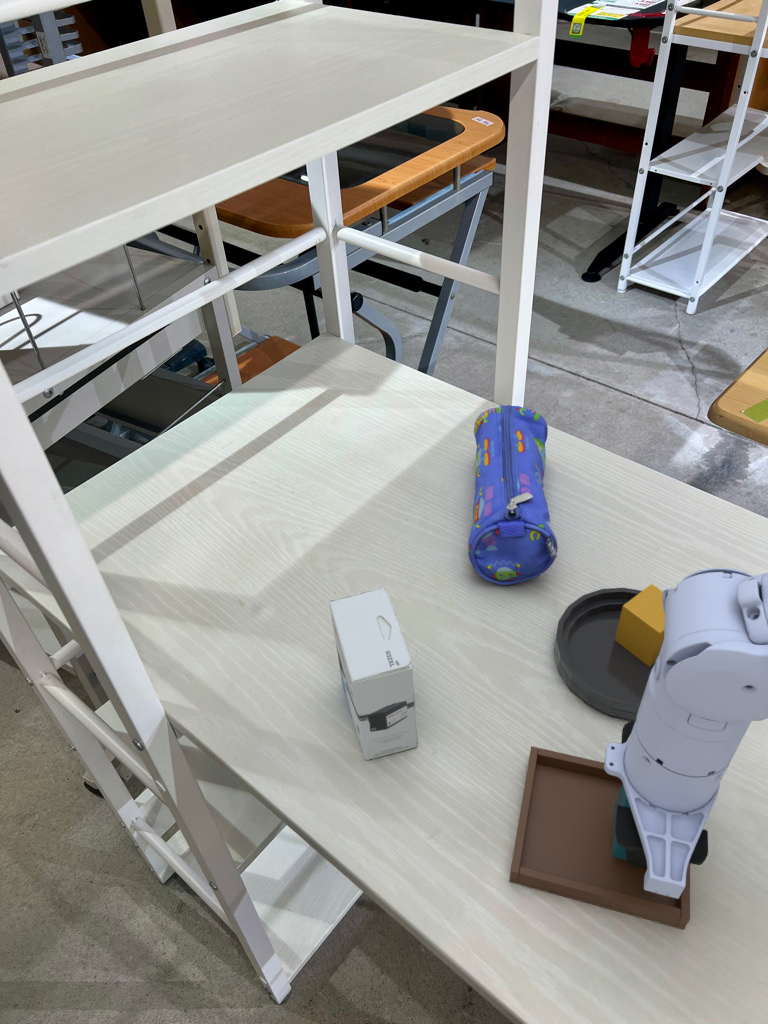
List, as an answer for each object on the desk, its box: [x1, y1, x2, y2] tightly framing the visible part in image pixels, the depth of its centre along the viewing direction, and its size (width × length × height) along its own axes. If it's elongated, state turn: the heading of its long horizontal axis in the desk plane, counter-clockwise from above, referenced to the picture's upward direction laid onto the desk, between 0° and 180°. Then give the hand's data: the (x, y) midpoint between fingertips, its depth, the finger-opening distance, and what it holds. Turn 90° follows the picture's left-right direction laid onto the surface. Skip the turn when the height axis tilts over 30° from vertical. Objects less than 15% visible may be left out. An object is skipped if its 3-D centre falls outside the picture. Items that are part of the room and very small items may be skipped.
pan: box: [553, 587, 655, 721], centre depth 67 cm, size 13×13×2 cm
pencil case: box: [467, 404, 558, 586], centre depth 79 cm, size 22×9×10 cm, turn 174°
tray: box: [508, 746, 691, 930], centre depth 56 cm, size 12×10×2 cm
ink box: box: [328, 586, 419, 761], centre depth 62 cm, size 8×5×12 cm, turn 15°
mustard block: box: [615, 583, 665, 667], centre depth 67 cm, size 4×4×5 cm
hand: (644, 831), depth 54 cm, fingers closed on teal block, 4 cm apart
